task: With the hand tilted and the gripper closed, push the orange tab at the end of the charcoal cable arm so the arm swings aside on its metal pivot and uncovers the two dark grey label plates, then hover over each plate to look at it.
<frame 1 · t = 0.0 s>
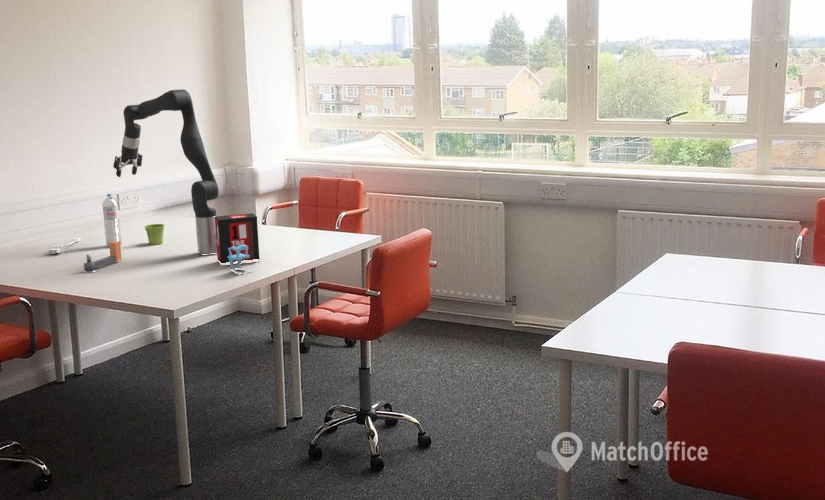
hand: (126, 175, 433), 31 cm above the table, tool tilted 20°, fingers open, 8 cm apart
psu label 1: (98, 266, 385), on the table
plant pot: (156, 244, 428), on the table
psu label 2: (107, 264, 390), on the table
pivot base: (90, 271, 378), on the table
cable arm: (101, 255, 384), point 5 cm above the table, hinge at 0.0°
charging cable: (66, 249, 423), on the table
chair: (239, 272, 371), on the table
black and red box: (238, 262, 390), on the table
water bottle: (114, 246, 425), on the table
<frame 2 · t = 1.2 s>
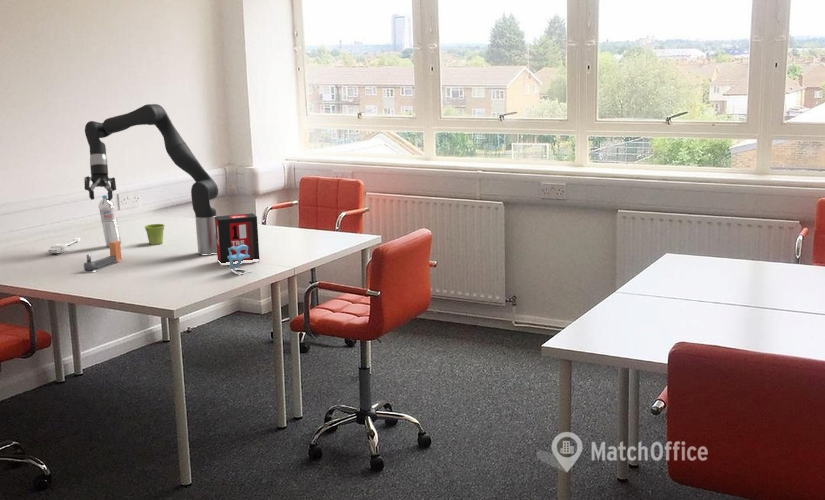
hand: (101, 199, 412), 24 cm above the table, tool tilted 15°, fingers open, 8 cm apart
water bottle: (113, 245, 424), on the table, touching gripper
everything else where it was.
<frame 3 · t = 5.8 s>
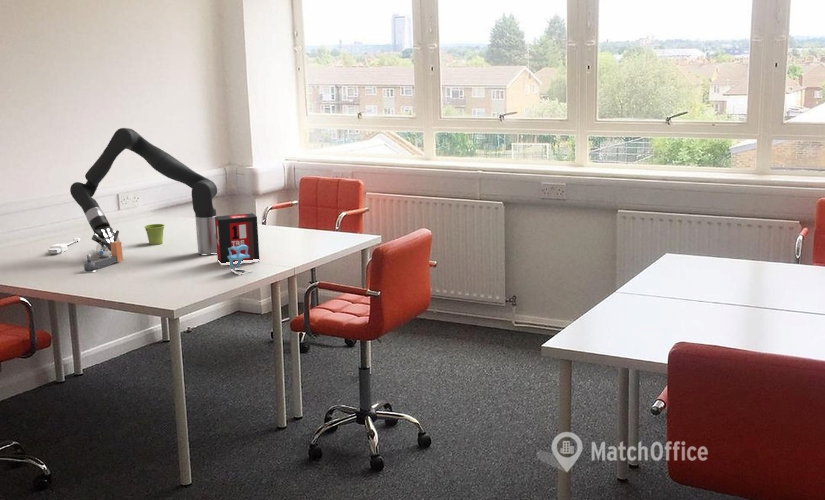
hand: (114, 250, 393), 5 cm above the table, tool tilted 45°, fingers closed
cable arm: (102, 255, 384), point 5 cm above the table, hinge at -2.4°, touching gripper
water bottle: (112, 240, 421), point 3 cm above the table
everything else where it was.
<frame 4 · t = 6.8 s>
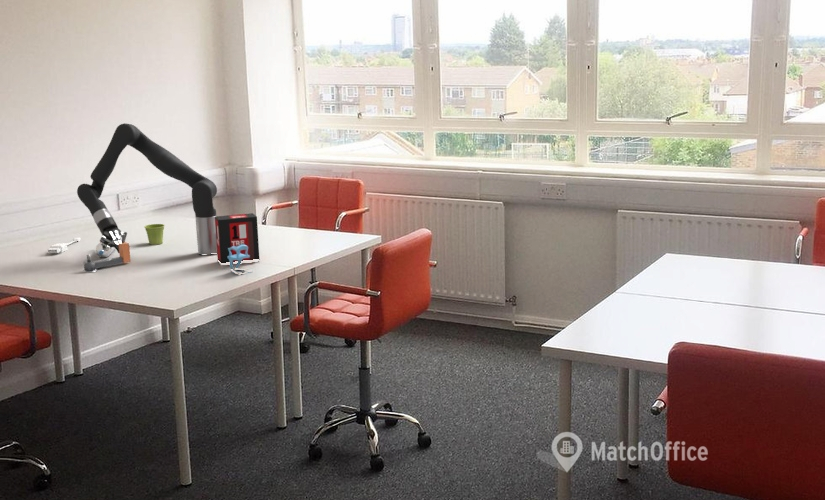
hand: (122, 252, 390), 4 cm above the table, tool tilted 45°, fingers closed
cable arm: (106, 256, 383), point 5 cm above the table, hinge at -20.7°, touching gripper
everything else where it was.
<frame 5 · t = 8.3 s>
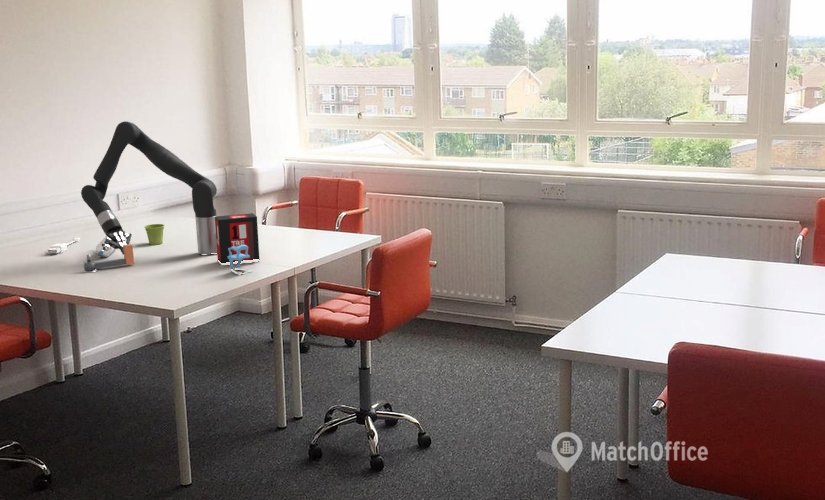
hand: (127, 254, 387), 4 cm above the table, tool tilted 45°, fingers closed
cable arm: (108, 257, 381), point 5 cm above the table, hinge at -36.0°, touching gripper
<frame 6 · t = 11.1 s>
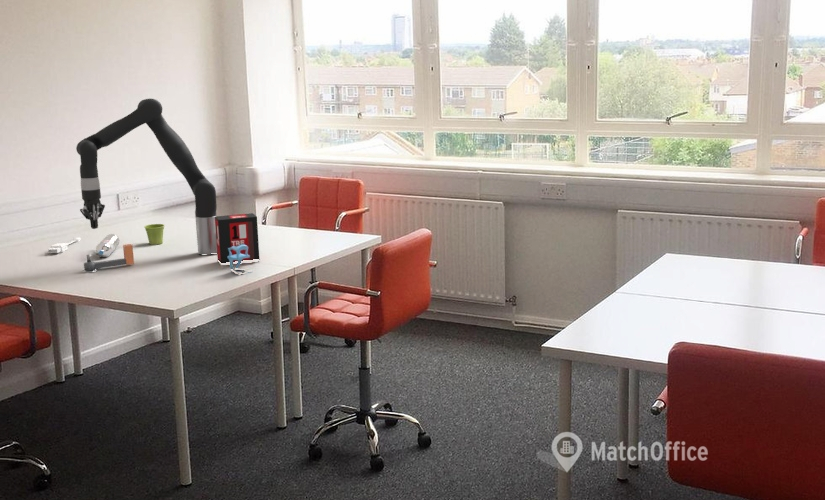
hand: (94, 228, 381), 17 cm above the table, tool pointing down, fingers closed
cable arm: (108, 257, 381), point 5 cm above the table, hinge at -36.1°
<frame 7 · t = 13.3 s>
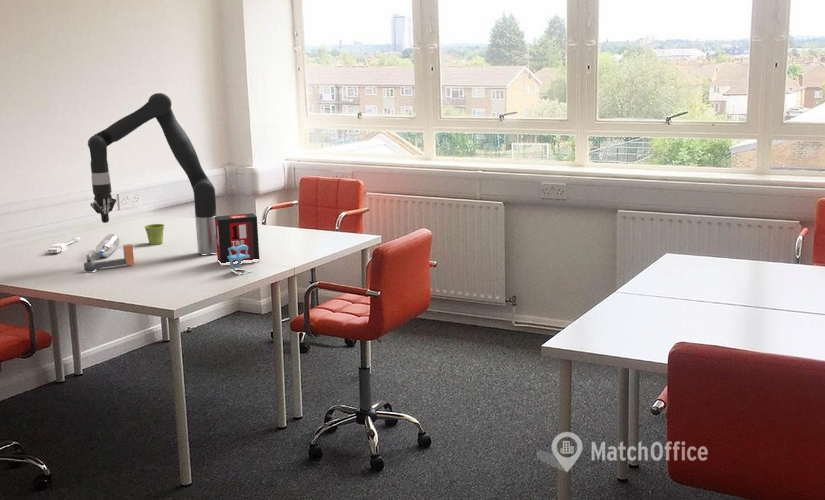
hand: (105, 222, 387), 18 cm above the table, tool pointing down, fingers closed
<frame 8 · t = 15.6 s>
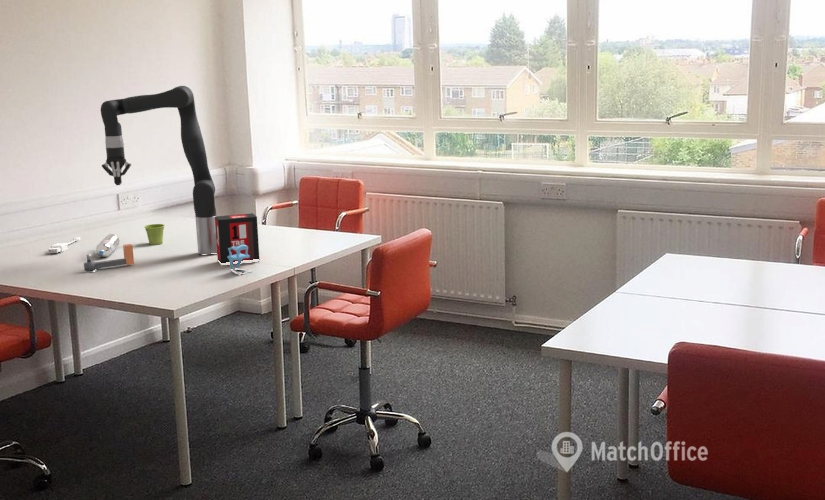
hand: (118, 184, 399), 32 cm above the table, tool pointing down, fingers closed
at the end: cable arm at -36° (first picture: +0°); the gripper is holding nothing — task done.
